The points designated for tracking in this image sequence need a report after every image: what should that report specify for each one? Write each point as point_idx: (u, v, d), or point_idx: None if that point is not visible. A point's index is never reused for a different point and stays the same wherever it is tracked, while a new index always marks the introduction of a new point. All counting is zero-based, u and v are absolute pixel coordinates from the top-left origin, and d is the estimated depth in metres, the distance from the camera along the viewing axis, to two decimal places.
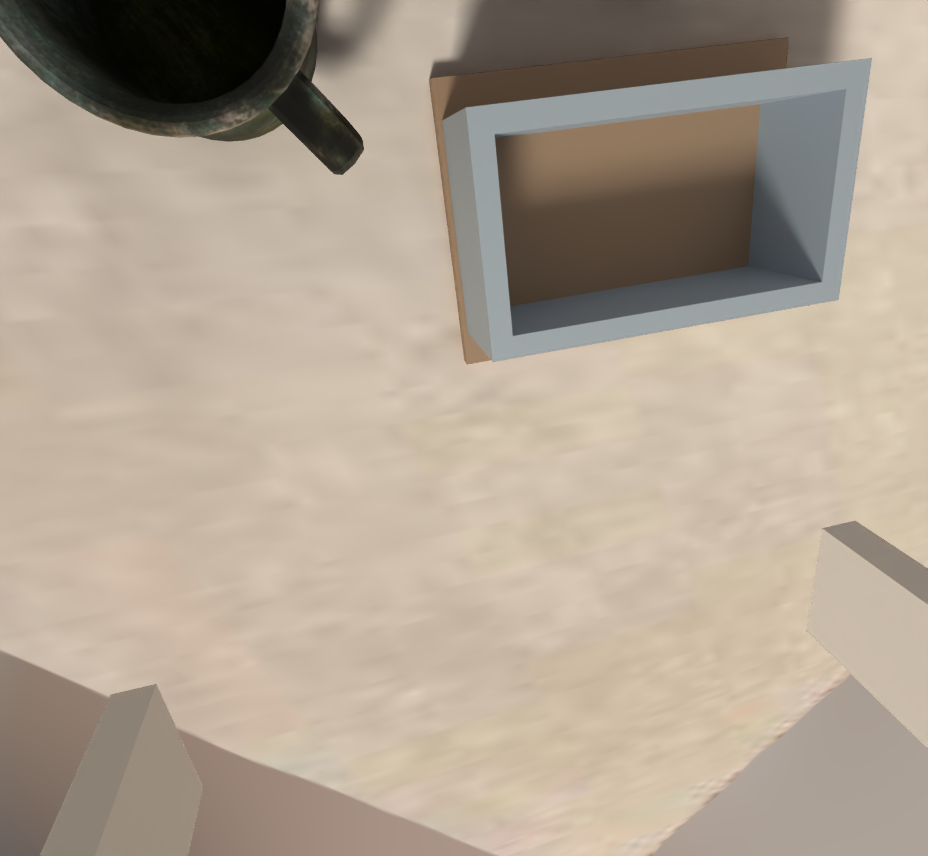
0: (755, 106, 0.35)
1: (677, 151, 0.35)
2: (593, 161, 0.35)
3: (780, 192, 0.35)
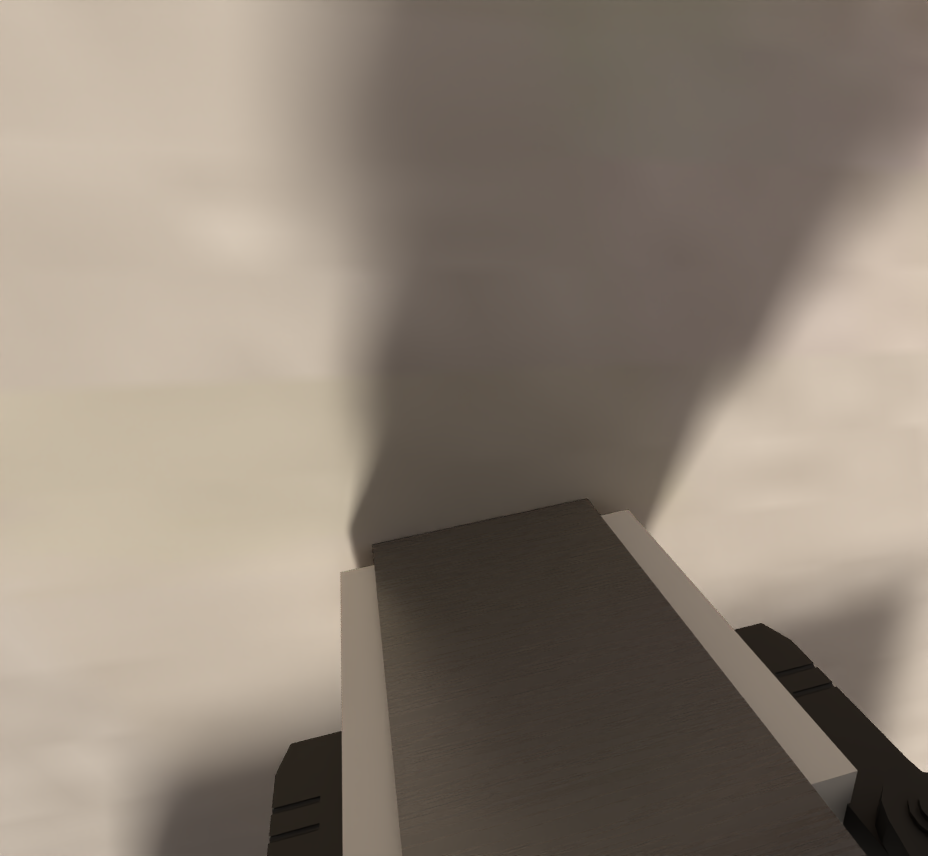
0: None
1: None
2: None
3: None
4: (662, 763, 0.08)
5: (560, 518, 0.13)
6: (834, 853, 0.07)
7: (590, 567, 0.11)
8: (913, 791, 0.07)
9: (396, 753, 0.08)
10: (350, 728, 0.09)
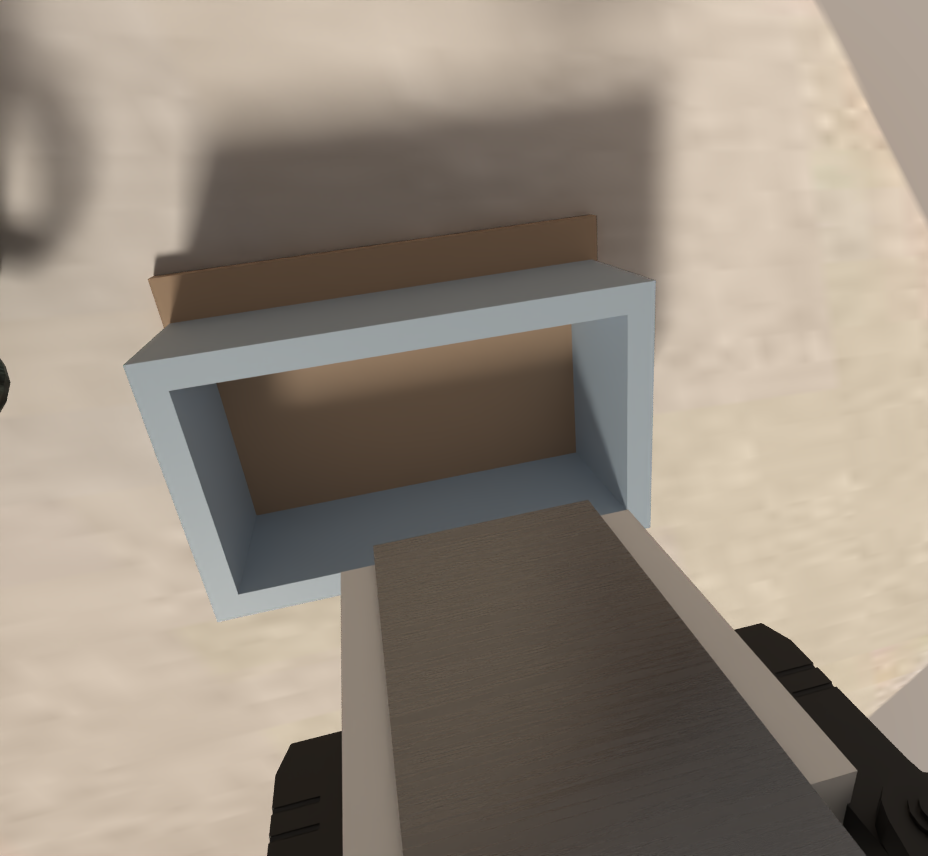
0: None
1: (473, 340, 0.30)
2: None
3: (591, 391, 0.30)
4: (663, 764, 0.08)
5: (561, 518, 0.13)
6: (835, 855, 0.07)
7: (591, 569, 0.11)
8: (913, 791, 0.07)
9: (397, 754, 0.08)
10: (350, 728, 0.09)
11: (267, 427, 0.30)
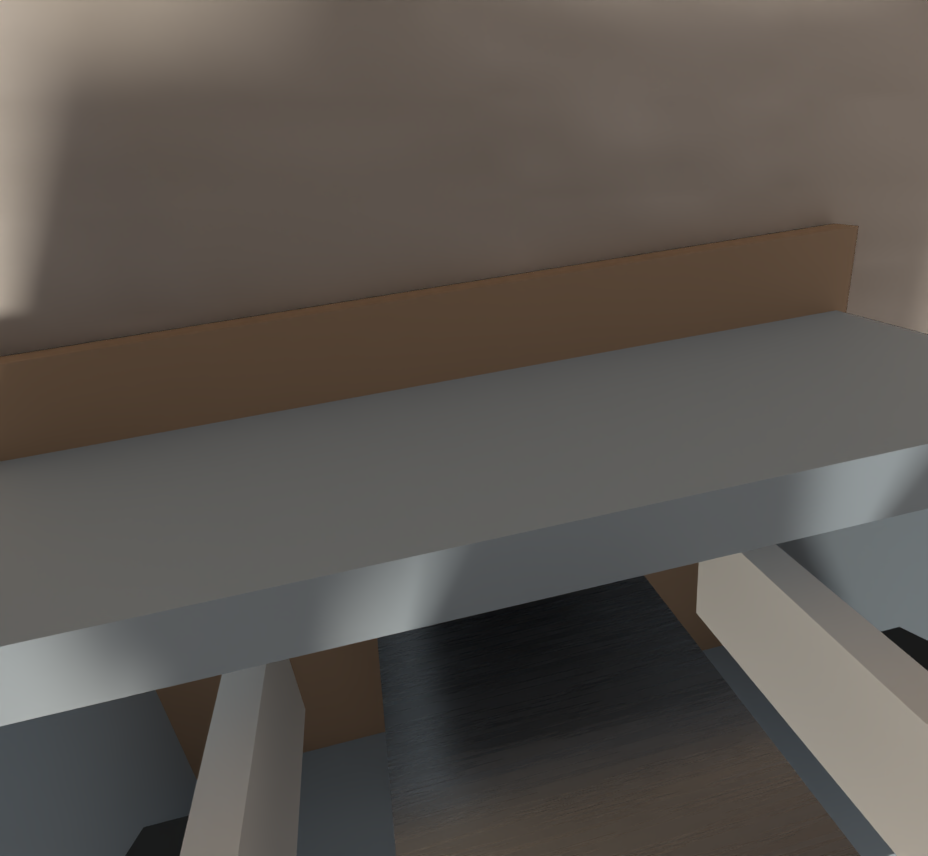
0: None
1: None
2: None
3: (835, 566, 0.15)
4: (597, 653, 0.09)
5: None
6: (722, 708, 0.08)
7: None
8: None
9: (381, 652, 0.10)
10: (197, 817, 0.08)
11: None
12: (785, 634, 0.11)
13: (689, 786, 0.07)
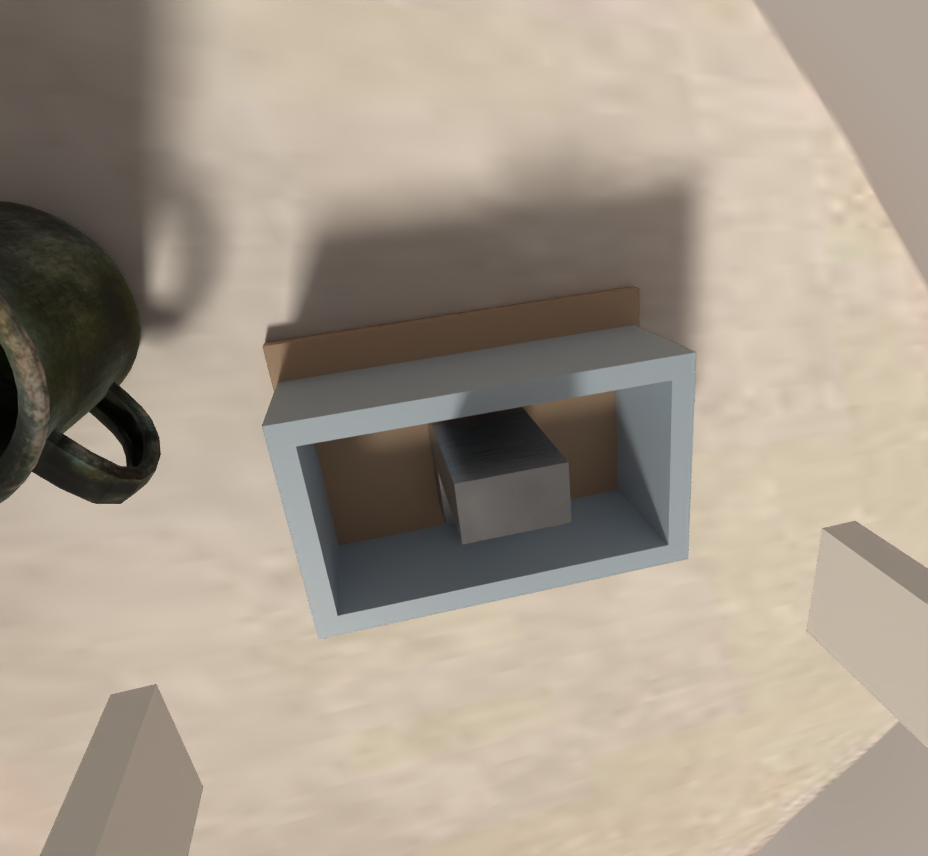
0: None
1: None
2: None
3: (634, 439, 0.34)
4: (511, 436, 0.28)
5: None
6: (546, 444, 0.27)
7: None
8: None
9: (438, 440, 0.29)
10: None
11: (352, 469, 0.34)
12: None
13: (530, 455, 0.26)
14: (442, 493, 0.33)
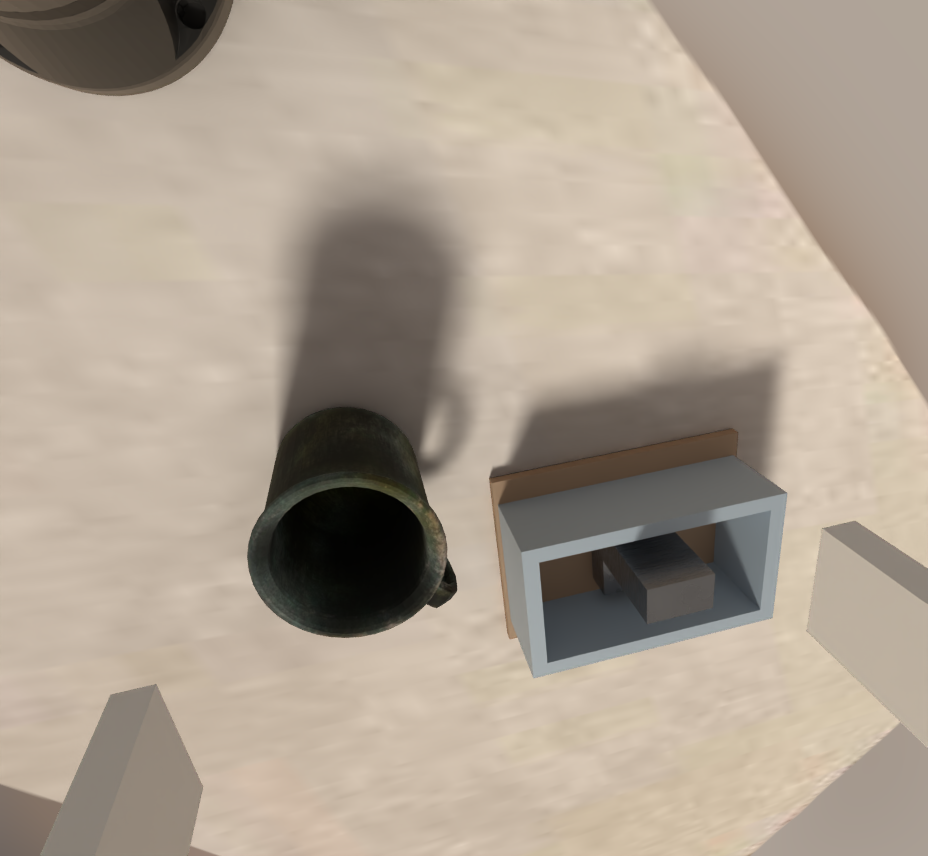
0: None
1: None
2: None
3: (733, 534, 0.50)
4: (667, 548, 0.44)
5: None
6: (694, 556, 0.42)
7: None
8: None
9: (617, 550, 0.44)
10: None
11: None
12: None
13: (687, 567, 0.42)
14: (604, 575, 0.49)
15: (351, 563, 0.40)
